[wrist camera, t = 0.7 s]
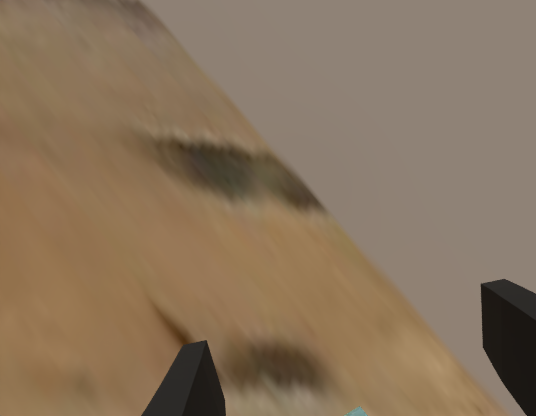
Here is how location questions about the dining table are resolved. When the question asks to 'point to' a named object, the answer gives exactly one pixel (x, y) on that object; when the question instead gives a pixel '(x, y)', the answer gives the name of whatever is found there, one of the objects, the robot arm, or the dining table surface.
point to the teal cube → (357, 412)
